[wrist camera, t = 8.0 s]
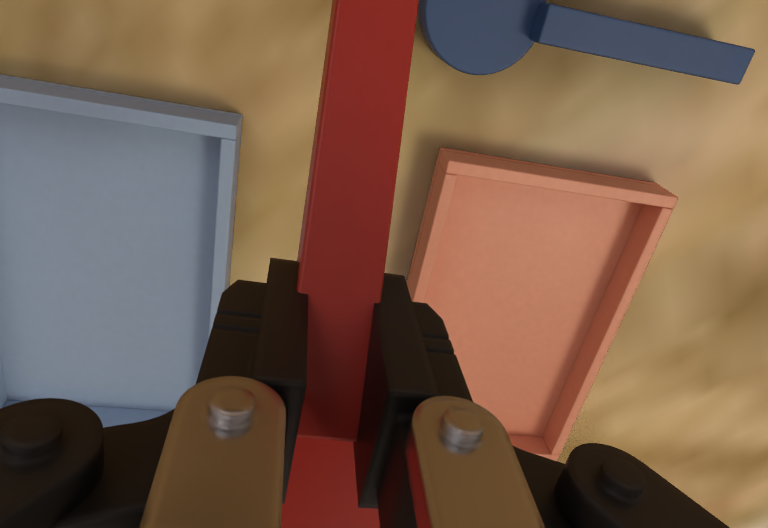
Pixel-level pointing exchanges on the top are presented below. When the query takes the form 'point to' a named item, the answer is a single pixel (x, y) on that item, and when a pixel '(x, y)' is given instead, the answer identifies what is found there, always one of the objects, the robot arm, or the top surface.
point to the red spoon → (347, 248)
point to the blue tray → (110, 245)
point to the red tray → (532, 280)
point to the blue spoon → (566, 38)
